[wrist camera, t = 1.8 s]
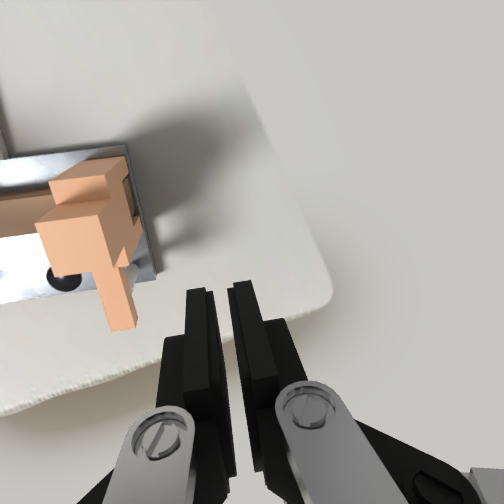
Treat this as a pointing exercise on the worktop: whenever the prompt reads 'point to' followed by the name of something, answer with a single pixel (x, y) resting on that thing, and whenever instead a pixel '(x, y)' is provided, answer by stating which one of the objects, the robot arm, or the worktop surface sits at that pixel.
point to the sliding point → (95, 234)
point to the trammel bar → (33, 209)
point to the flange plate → (29, 246)
